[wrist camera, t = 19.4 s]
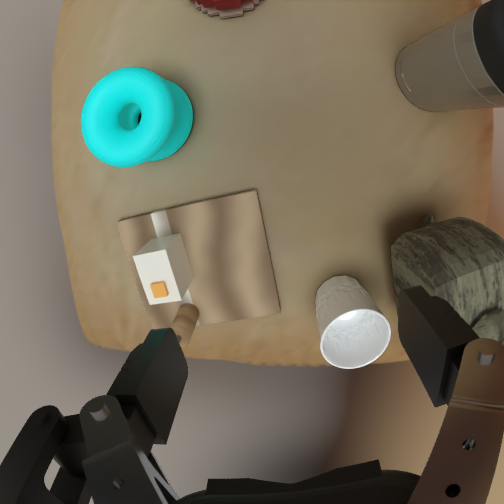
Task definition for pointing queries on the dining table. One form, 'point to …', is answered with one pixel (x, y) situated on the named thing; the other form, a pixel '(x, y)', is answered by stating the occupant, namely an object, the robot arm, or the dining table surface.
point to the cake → (225, 7)
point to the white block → (164, 269)
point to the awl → (185, 323)
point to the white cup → (349, 323)
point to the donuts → (135, 117)
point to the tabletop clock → (455, 270)
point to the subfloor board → (212, 258)
